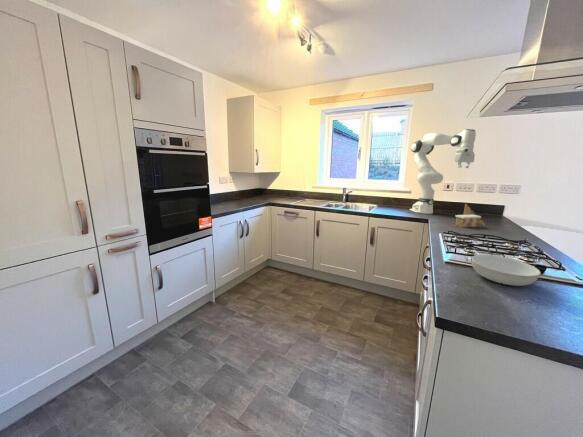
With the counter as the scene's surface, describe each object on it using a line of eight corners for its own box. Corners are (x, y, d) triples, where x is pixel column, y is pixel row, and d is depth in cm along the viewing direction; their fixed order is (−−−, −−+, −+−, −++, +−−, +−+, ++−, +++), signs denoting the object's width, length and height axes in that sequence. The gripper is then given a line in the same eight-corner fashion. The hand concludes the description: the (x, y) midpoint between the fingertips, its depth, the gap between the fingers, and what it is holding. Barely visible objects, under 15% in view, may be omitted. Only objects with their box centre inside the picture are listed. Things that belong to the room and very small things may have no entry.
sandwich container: (485, 225, 189) (489, 207, 185) (461, 222, 197) (465, 204, 194) (484, 223, 195) (488, 205, 192) (462, 220, 204) (465, 203, 201)
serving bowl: (470, 264, 112) (473, 250, 110) (532, 278, 99) (536, 263, 97) (466, 280, 96) (470, 264, 94) (540, 299, 83) (545, 281, 82)
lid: (463, 219, 179) (463, 216, 178) (455, 217, 185) (455, 215, 185) (480, 219, 183) (481, 216, 182) (472, 217, 189) (473, 214, 189)
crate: (461, 227, 181) (462, 218, 179) (454, 225, 186) (456, 216, 184) (477, 226, 185) (479, 217, 183) (471, 224, 190) (473, 216, 188)
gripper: (469, 151, 197) (466, 168, 200) (454, 149, 188) (451, 167, 191) (478, 150, 191) (475, 168, 194) (462, 149, 183) (459, 167, 186)
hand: (463, 168), depth 193 cm, fingers open, 8 cm apart
